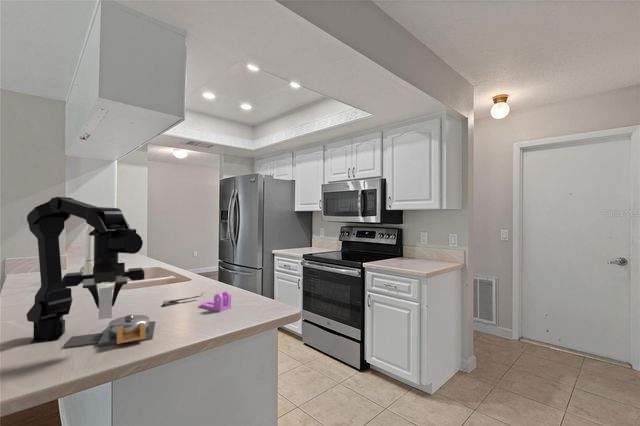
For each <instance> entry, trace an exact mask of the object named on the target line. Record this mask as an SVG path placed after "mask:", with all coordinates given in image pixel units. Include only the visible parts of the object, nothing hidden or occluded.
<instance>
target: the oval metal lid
mask: <svg viewBox="0 0 640 426" xmlns="http://www.w3.org/2000/svg"><path fill="white" fill-rule="evenodd" d="M149 322H150V317H149V316H147V315H143V314H127V315H125V316H121V317H118V318H114V319H112V320H110V321H109V322H108V327H109V330H108V334H109V335H110V336H113V337H116V340H117V344H116V345H119V343H120V344H125V343H124V342H128V343H131V342H130V341H135V340H140V339H145V338H146V330H148V328H149ZM135 342H136V341H135Z"/></svg>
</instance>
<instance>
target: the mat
mask: <svg viewBox="0 0 640 426" xmlns="http://www.w3.org/2000/svg"><path fill="white" fill-rule="evenodd" d="M103 333H104V332H99V333H91V334H82V335H74V336H71V337H70V338H69V339H68V341H66V343H65V344H64V345H63V347H62V349H63V350H64V349H72V348H79V347H86V346H93V345H94V346H95V345H98V342H99V340H100V338H101V337H102V335H103Z"/></svg>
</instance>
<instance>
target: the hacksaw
mask: <svg viewBox="0 0 640 426" xmlns="http://www.w3.org/2000/svg"><path fill="white" fill-rule="evenodd" d="M203 294H204V292H202V293H201V295H195V296H191V297H185V298H178V299H172V300H169V299H168V300H164V301H163V302H164V303H162V304H161V305H160V306H161V307H163V308H165V307H169V306H174V305H175V306H176V305H179V304H185V303H190V302H195V301H197V302H198V300H197V299H196V298H200V297H202V296H203ZM203 297H205V296H203ZM189 299H192V300H189ZM193 299H194V300H193Z"/></svg>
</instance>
